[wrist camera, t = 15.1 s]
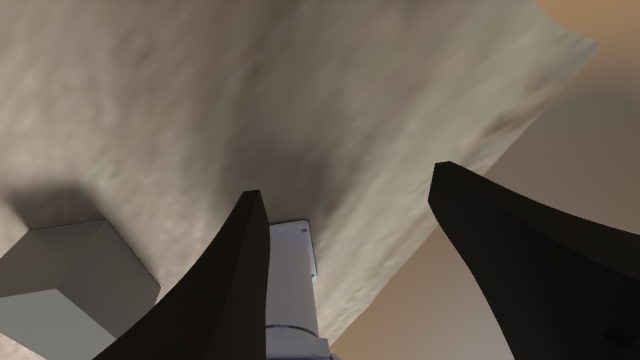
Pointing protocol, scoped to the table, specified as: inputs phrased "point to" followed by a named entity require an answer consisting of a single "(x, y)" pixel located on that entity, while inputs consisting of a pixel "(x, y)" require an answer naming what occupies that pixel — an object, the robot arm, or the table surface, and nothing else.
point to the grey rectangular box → (72, 290)
